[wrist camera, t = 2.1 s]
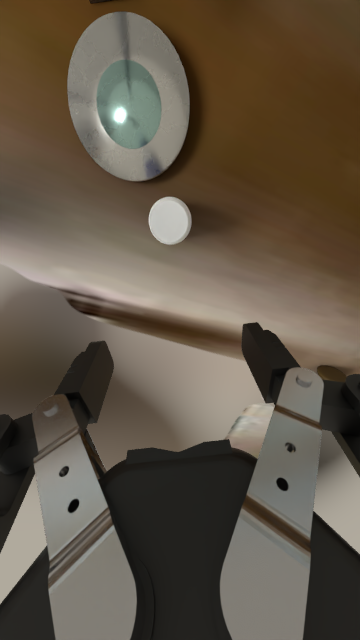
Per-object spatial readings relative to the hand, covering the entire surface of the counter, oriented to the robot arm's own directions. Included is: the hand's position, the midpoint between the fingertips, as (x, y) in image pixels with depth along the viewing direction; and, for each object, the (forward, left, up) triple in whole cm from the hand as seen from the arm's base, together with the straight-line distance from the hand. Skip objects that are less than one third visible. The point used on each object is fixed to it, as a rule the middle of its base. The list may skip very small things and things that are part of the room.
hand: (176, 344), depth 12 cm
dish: (-5, +19, -26) cm, 33 cm away
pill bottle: (-1, +6, -27) cm, 27 cm away
